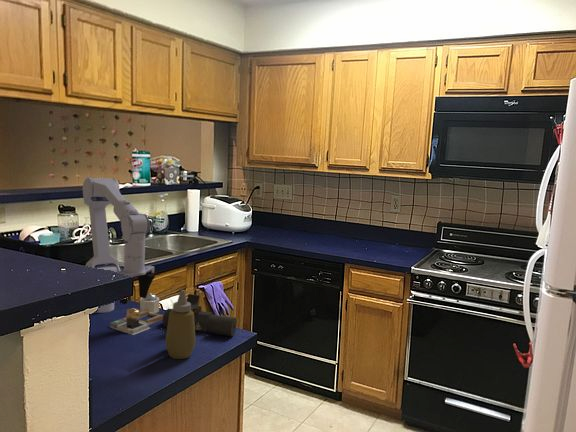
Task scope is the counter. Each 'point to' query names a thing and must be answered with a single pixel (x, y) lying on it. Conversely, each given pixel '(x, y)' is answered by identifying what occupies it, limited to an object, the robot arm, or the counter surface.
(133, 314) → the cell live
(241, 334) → the counter surface
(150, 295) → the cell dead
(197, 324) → the laser sight
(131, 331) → the cradle
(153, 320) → the tan square tray
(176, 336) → the squeeze bottle
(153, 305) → the cup
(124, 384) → the counter surface
